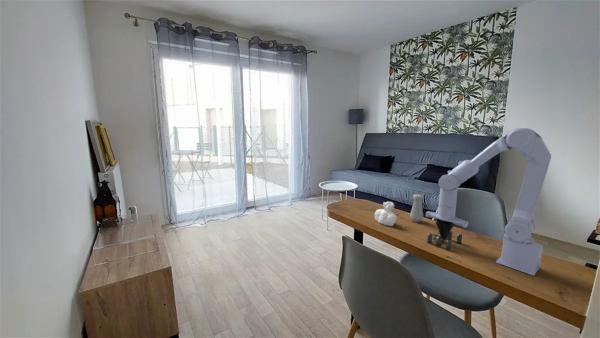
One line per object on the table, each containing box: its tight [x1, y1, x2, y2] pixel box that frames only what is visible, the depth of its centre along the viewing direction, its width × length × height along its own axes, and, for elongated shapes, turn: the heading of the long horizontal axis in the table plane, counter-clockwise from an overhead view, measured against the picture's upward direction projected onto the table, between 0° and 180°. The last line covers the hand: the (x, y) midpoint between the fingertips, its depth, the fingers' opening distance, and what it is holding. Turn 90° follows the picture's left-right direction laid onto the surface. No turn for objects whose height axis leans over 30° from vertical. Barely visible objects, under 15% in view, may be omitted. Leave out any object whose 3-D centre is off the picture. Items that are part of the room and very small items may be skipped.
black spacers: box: [426, 230, 463, 252], centre depth 97 cm, size 9×11×4 cm
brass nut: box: [429, 232, 441, 243], centre depth 100 cm, size 5×4×2 cm
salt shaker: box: [409, 194, 424, 223], centre depth 120 cm, size 6×6×13 cm
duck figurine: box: [374, 201, 398, 227], centre depth 117 cm, size 12×8×11 cm
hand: (443, 239), depth 97 cm, fingers closed
